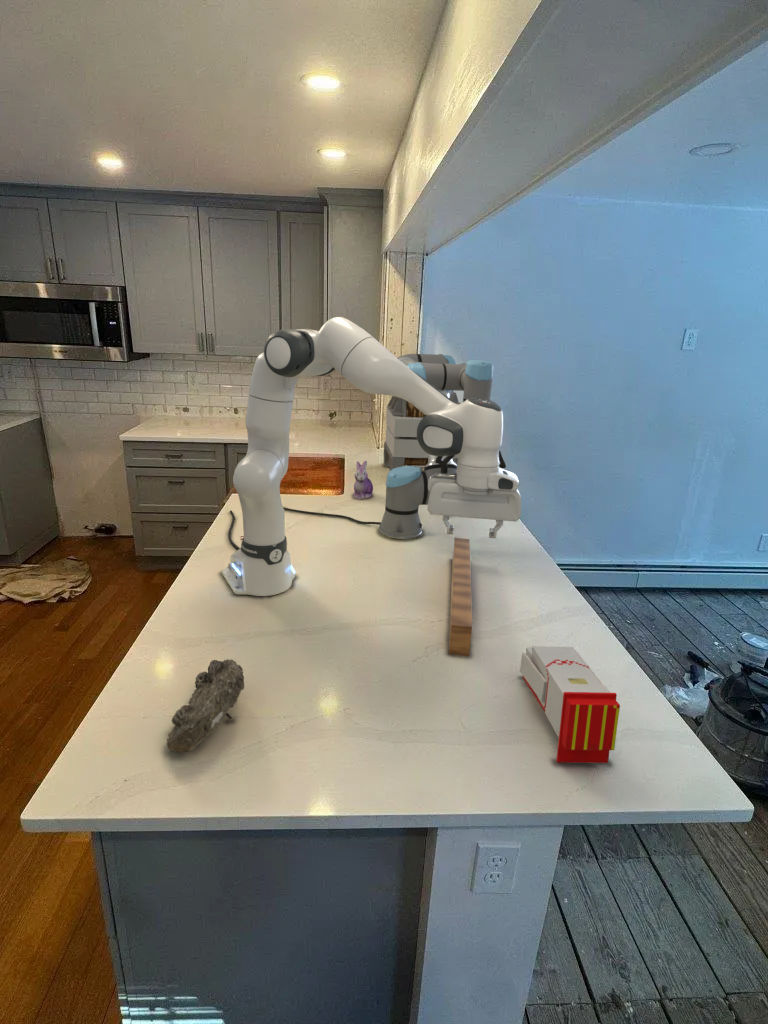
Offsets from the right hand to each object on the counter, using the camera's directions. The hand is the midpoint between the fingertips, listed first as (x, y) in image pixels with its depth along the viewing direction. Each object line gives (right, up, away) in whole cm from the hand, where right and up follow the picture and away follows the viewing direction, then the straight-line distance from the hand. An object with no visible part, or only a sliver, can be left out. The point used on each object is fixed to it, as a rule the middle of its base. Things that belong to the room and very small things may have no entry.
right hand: (467, 488), depth 167 cm
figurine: (-34, 0, +70) cm, 78 cm away
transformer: (-8, +12, +107) cm, 108 cm away
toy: (+10, -47, -54) cm, 72 cm away
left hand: (-5, -12, -41) cm, 43 cm away
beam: (-4, -31, -12) cm, 34 cm away
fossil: (-58, -46, -59) cm, 95 cm away
